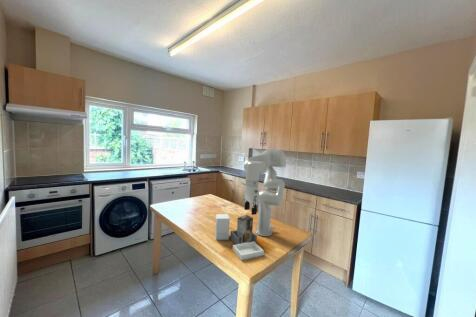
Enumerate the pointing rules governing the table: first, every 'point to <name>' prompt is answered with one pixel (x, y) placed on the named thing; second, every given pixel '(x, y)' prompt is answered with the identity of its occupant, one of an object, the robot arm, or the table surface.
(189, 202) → the table surface
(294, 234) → the table surface
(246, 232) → the coffee box
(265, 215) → the robot arm
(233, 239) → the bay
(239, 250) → the tray
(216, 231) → the supplement box
